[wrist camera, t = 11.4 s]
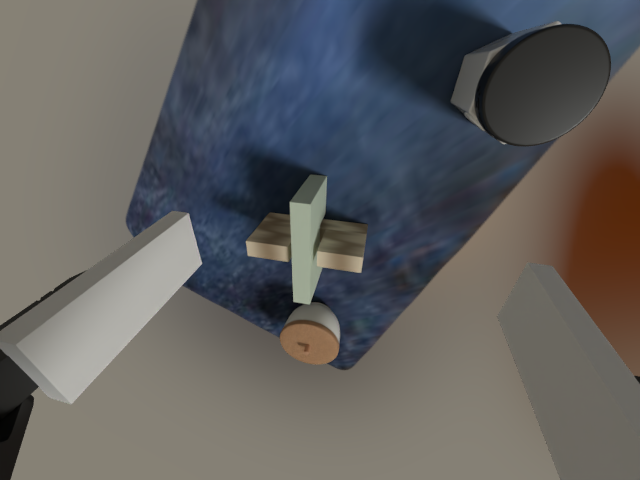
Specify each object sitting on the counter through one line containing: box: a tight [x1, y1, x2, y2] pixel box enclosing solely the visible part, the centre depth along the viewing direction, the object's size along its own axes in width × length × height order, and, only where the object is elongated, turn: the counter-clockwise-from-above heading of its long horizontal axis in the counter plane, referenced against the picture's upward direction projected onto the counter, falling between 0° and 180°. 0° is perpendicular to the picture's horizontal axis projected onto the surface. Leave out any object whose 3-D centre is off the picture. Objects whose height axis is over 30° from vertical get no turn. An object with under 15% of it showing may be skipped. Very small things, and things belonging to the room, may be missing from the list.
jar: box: [451, 21, 611, 146], centre depth 26 cm, size 9×8×12 cm
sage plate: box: [290, 175, 327, 305], centre depth 41 cm, size 16×2×10 cm, turn 179°
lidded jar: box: [280, 302, 340, 364], centre depth 52 cm, size 11×11×9 cm
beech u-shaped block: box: [246, 213, 368, 273], centre depth 41 cm, size 16×2×9 cm, turn 88°
